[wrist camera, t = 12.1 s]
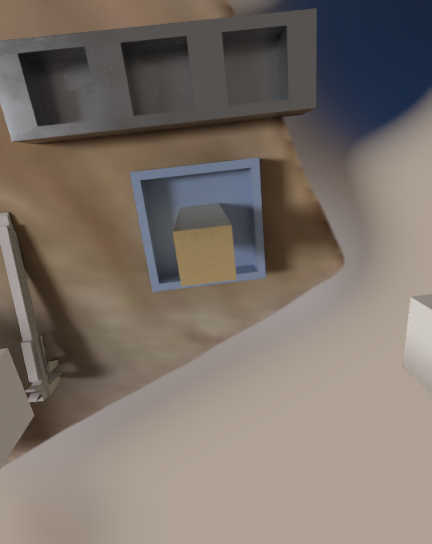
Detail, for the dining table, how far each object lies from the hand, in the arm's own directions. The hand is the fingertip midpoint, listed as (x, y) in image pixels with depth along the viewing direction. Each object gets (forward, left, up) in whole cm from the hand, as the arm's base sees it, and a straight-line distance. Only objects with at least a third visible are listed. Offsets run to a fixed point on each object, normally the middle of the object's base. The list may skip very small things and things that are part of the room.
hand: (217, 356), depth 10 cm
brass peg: (0, 0, -24) cm, 24 cm away
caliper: (+7, -20, -25) cm, 33 cm away
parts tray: (0, 0, -24) cm, 25 cm away
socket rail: (-13, -2, -24) cm, 28 cm away
